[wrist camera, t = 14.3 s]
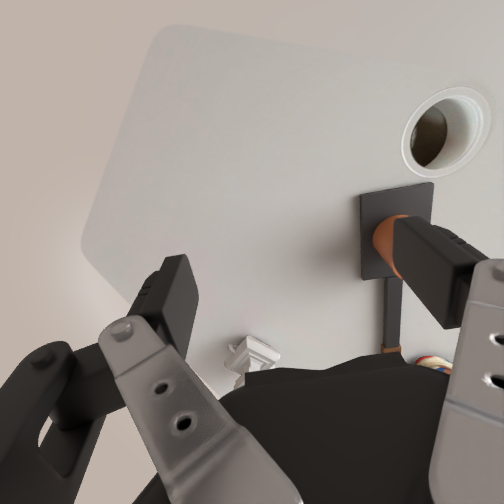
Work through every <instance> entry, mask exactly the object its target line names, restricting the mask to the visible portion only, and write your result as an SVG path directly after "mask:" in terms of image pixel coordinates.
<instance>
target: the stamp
mask: <svg viewBox="0 0 504 504" xmlns="http://www.w3.org/2000/svg"><path fill="white" fill-rule="evenodd" d="M228 348H229V350H230V351H231V352H232V353H231V355H230V356H229V357H228V358H227V359H226V360H225V361H224V366H225V367H226V368H228V369H230V370H232V371H234V372H236V373H238V374H240V375H241V376H240V377H239V378H238V379H237V380H236V384H235V385H234V390H235V389H237V388H239V387H241V386H244V385H245V373H246V372H253V371H260V370H267V369H274V364H275V363H276V362H277V361H278V360H279V358H280V354H279V353H278V352H277V351H275V350H274V349H272V348H271V347H270V346H268V345H267V344H265V343H263V342H261V341H259V340H257V339H255V338H253V337H251V336H249V335H248V336H247V337H246V338H245V339H244V340H243V341H242V342H241V343H240V345H239V346H238V345H235V344H229V345H228ZM234 348H235V349H234Z"/></svg>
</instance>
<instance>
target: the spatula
mask: <svg viewBox="0 0 504 504" xmlns="http://www.w3.org/2000/svg"><path fill="white" fill-rule="evenodd" d="M433 191H434V183H432V182H428V183H423V184H417V185H412V186H406V187H400V188H395V189H389V190H383V191H378V192H372V193H366V194H361V195H360V231H361V278H362V280H363V281H364V280H371V279H377V278H384V277H385V285H384V329H383V344H381V354H382V353H389V352H396V351H399V352H400V354H401V346H400V344H399V339H400V321H401V303H402V285H403V279H401V278H399V277H398V276H397V275H396V274H395V273H394V272H393V271H392V269H391V268H390V267H389V266H388V264H387V263H386V262H385V261H384V259H383V258H382V257H381V256H380V254H379V253H378V252H377V250H376V249H375V248H374V245H373V234H374V232H375V230H376V228H377V227H378V225H379V224H380V223H381V222H382V221H384V220H385V219H387V218H389V217H391V216H394V215H407V216H413V215H419V216H420V217H422V218H423V219H424V220H426V221H427V222H428V223H430V222H431V212H432V201H433Z"/></svg>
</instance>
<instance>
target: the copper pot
mask: <svg viewBox="0 0 504 504" xmlns="http://www.w3.org/2000/svg"><path fill="white" fill-rule="evenodd" d="M402 217H407V215H394V216H391V217H389V218H387V219H385V220H384V221H382V222H381V223H380V224H379V225H378V227H377V228H376V230H375V232H374V234H373V245H374V248H375V249H376V250H377V252H378V253H379V254H380V256H381V257H382V258H383V259H384V261H385V262H386V263H387V264H388V266H389V267H390V268H391V269H392V271H393V272H394V273H395V274H396V275H397V276H398V277H399V278H401V279H403V278H402V277H401V276H400V275H399V273H398V272H397V271H396V269H395V267H394V264H393V259H392V247H393V224H394V220H395V219H396V218H402Z"/></svg>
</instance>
